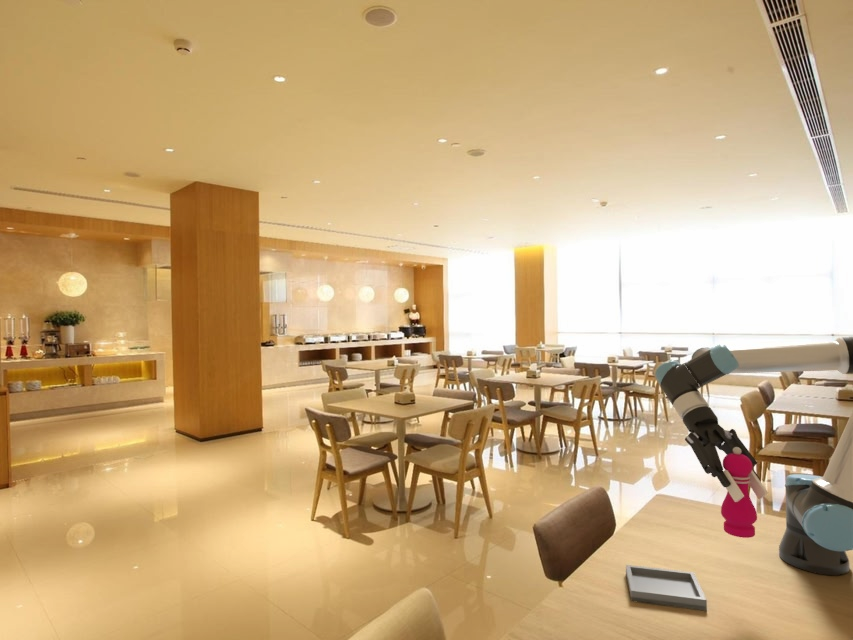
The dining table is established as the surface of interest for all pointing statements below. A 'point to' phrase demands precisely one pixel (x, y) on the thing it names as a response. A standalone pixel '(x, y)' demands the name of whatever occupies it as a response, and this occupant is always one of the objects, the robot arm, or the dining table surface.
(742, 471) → the pepper mill
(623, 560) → the dining table surface
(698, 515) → the dining table surface
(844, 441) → the robot arm
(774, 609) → the dining table surface
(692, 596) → the tray
